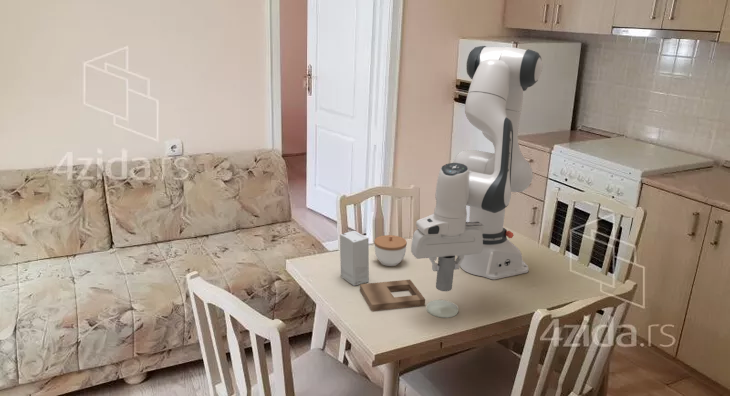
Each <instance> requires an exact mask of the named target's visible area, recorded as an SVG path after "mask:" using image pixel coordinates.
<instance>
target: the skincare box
mask: <svg viewBox="0 0 730 396" xmlns="http://www.w3.org/2000/svg"><path fill="white" fill-rule="evenodd" d="M369 239H370V238H369V237H367V236H365V235H364V234H361V232H360V233H359V232H358V231H356V230H352V231H348V232H343V233H340V234H339V245H340V246H339V248H340V249H339V250H340V254H339V257H340V278H342V279H343V280H345V281H346V282H348V283H349V284H351V285H352V286H354V287H355V286H357V285H358V286H360V284H368V283H370V282H369V281H370V277H369V276H370V274H369V273H370V272H369V271H370V268H369V265H370V263H369V260H370V259H369V258H370V257H369V256H370V255H369V250H370V249H369Z"/></svg>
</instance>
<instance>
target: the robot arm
mask: <svg viewBox="0 0 730 396" xmlns="http://www.w3.org/2000/svg"><path fill="white" fill-rule="evenodd" d="M542 69H543V63H542V56H541V55H540V53H539V52H538V51H535V50H532V49H524V48H518V47H512V46H486V45H481V46H475V47H474V48H472V49H471V50H470V51H469V53H468V56H467V60H466V74H467V75H468V77H469V79H471V82H470V84H469V88H468V93H467V96H466V98H465V99H466V100H465V105H464V113H465V116H466V119H467V121H468V122H469V123H470V124H471V125H472V126H474V128H476V129H478V130H479V131H481V132H482V135H483V136H484V138H486V139H487V140H488V141H490V142H491V143H492V145H493V147H494V149H493V150H494V153H493V152H488V151H482V150H477V149H476V150H474V149H473V150H472V149H471V150H469V149H467V150H461V151H460V152H459V153H458V154H457V155H456V156H455V157H454V159H453V162H449V163H446V164H444V165H442V166H441V167H440V169H439V172H438V175H437V180H436V187H435V202H436V203H435V208H434V212H433V213H432V214H430V215H427V216H425V217H423V218H420V219H418V220H416V221H415V226H416V228H417V229H416V230H415V231H414V232H413V235H412V238H411V239H412V240H411V245H410V252H411V253H412V255H413V257H415V259H429V261H430V262H431V264H432V265H431V269H432V271H433V272H437V271H439V267H440V266H439V265H438V262H436V261H437V260H438V257H446V256H455V257H456V256H457V257H456V258H455V263H454V271H455V270H460V268H461V269H462V270H463V271H465V272H467V273H468V274H471V275H474V276H479V277H484V278H487V279H490V280H498V279H503V278H508V277H512V276H517V275H521V274H526V273H528V272H529V265H528V264H527V263H526V262H525V261H524V260H523V256H522V252H521V250H520V248H518V247H517V246H516V245H515V244H514V243H513V242H512V241H510V240H509V239H512V238H513V237H514V235H515V234H514V232H512V231H510V230H507V229H506V228H505V227H504V222H505V213H506V208H508V206H509V204H510V201H511V196H512V193H522V192H524V191H525V190H527V189H528V188H529V187H530V185H531V183H532V181H533V177H534V176H533V173H534V172H533V169H532V166H531V164H530V162H529V161H528V160H527V159H526V158H525V156H524V155H523V153H522V151H521V149H520V145H519V136H518V135H519V134H518V133H519V126H520V119H521V114H522V109H523V99H524V92H525V91H527V90H528V89H529V88H530V87H532V86H534V85H535V84H536V83H537V82H538V81H539V79H540V76H541V75H542V71H543V70H542ZM467 207H469V215H468V212H467ZM467 215H468V216H469V219H468V221H467V217H468V216H467Z"/></svg>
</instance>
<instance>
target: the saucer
mask: <svg viewBox="0 0 730 396" xmlns="http://www.w3.org/2000/svg"><path fill="white" fill-rule="evenodd" d="M426 311H427V313H428V314H430V315H431V316H433V317H436V318H440V319H450V318H453V317H455V316H457V315H458V314H459V307H458V305H457V304H455V303H454V302H453V301H450V300H445V299H434V300H431V301H428V303H427V304H426Z"/></svg>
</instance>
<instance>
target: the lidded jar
mask: <svg viewBox="0 0 730 396" xmlns="http://www.w3.org/2000/svg"><path fill="white" fill-rule="evenodd" d="M406 250H407V240H406V239H405V238H404V237H402V236H398V235H393V234H387V235H380V236H377V237H376V238H374V253H375V257H376V259H377V260H378V261H379V262H380V264H381V265H383V266H385V267H395V266H397V265H399V263H401V262H402V261H403V259H404V258H405V255H406Z"/></svg>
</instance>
